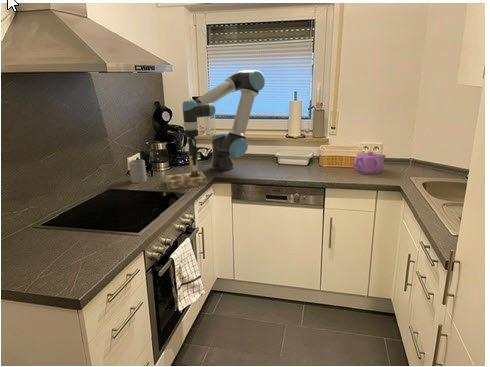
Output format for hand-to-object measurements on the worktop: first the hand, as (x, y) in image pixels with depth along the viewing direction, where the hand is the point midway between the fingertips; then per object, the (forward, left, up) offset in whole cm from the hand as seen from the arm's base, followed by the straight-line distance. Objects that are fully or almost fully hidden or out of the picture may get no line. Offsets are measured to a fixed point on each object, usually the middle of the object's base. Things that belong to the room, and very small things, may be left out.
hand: (194, 169), depth 203 cm
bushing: (0, 0, -4) cm, 4 cm away
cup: (+31, -17, -8) cm, 37 cm away
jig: (+5, 0, -8) cm, 10 cm away
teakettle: (-105, +20, -8) cm, 107 cm away
